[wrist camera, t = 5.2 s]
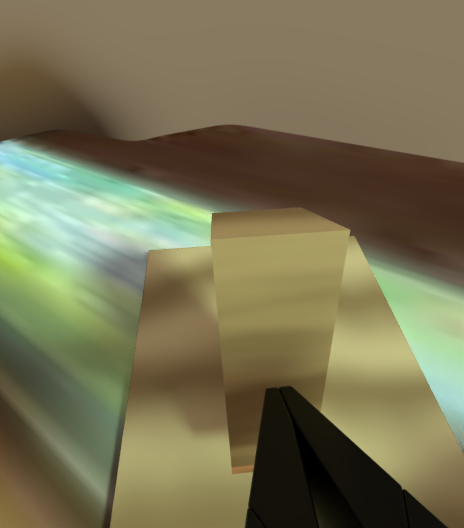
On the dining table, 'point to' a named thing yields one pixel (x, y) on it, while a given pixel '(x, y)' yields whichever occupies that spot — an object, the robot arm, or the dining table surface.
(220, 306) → the block
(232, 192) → the dining table surface
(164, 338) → the board
